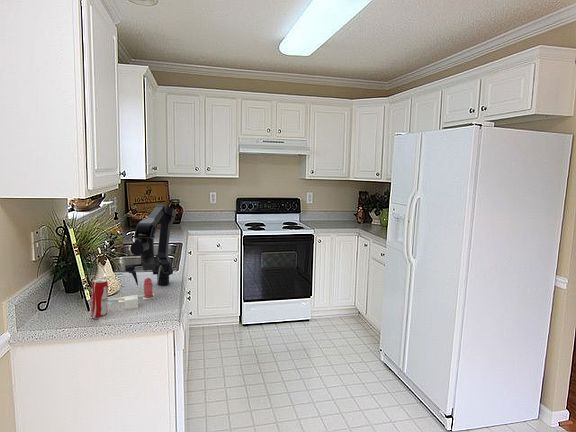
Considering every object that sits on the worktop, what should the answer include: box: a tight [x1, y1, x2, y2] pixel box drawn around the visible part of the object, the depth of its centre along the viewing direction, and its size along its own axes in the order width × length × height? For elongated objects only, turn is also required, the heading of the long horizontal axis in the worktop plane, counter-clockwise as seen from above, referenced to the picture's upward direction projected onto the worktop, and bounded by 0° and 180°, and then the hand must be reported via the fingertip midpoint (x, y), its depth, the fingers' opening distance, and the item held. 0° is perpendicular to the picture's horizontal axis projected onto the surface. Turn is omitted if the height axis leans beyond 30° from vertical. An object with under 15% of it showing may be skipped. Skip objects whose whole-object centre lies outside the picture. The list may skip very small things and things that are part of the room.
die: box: [123, 294, 139, 310], centre depth 161 cm, size 5×5×5 cm
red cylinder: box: [143, 277, 154, 297], centre depth 173 cm, size 4×4×8 cm
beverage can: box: [90, 278, 109, 320], centre depth 152 cm, size 6×6×15 cm
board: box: [107, 293, 156, 305], centre depth 170 cm, size 6×20×1 cm, turn 115°
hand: (148, 283), depth 173 cm, fingers open, 9 cm apart
